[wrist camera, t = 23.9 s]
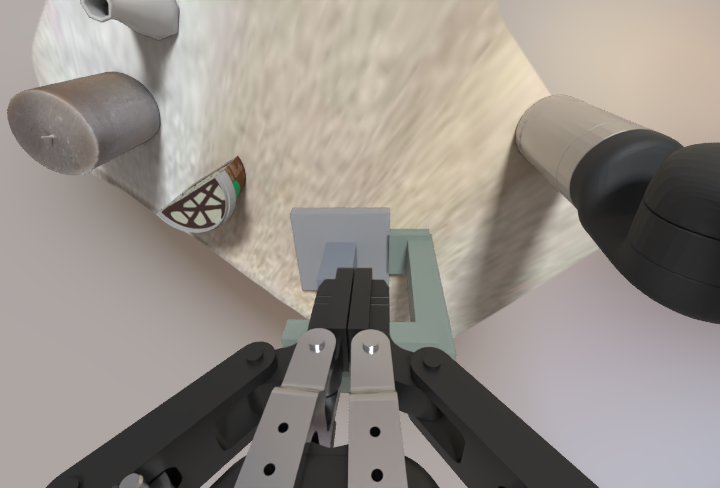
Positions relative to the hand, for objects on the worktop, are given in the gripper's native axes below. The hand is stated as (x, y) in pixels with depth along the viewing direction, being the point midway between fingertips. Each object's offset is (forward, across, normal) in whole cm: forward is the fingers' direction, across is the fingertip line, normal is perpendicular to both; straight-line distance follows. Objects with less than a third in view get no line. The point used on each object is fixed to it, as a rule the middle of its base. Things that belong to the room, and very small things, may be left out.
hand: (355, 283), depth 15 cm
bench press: (+39, +3, +24) cm, 46 cm away
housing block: (+37, +6, +24) cm, 44 cm away
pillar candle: (+39, +36, 0) cm, 53 cm away
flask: (+39, +28, -12) cm, 50 cm away
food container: (+39, +24, +12) cm, 48 cm away
